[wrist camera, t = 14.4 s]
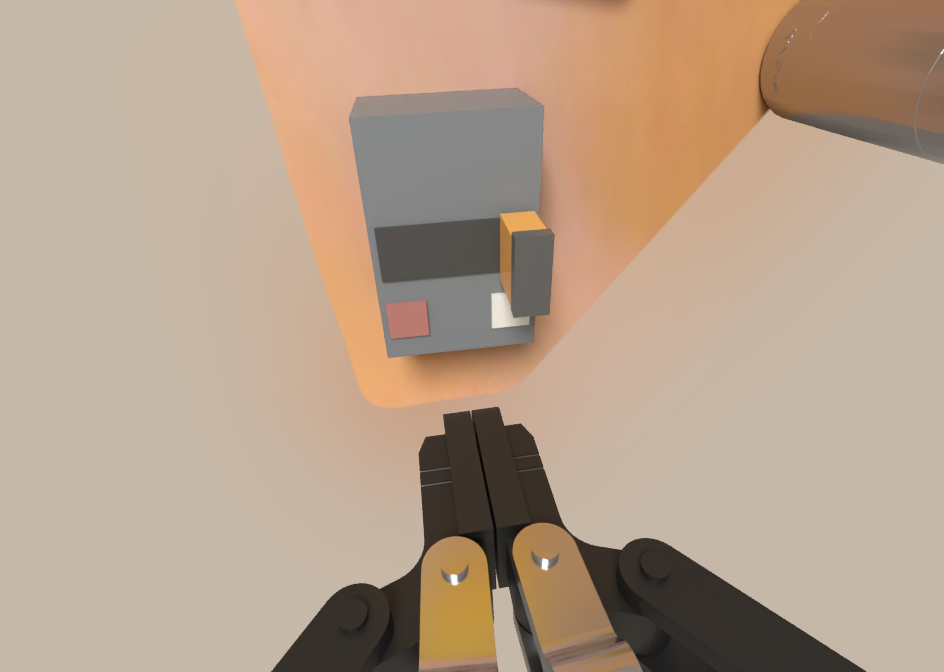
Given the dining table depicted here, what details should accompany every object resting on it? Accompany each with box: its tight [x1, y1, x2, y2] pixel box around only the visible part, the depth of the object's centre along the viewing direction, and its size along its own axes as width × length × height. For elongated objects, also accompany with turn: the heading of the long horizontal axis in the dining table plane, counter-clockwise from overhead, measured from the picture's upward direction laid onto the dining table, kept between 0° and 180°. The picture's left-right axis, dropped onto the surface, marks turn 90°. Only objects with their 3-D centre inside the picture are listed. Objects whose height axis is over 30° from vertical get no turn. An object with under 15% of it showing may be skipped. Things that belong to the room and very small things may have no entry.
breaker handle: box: [500, 211, 554, 318], centre depth 33 cm, size 2×6×5 cm, turn 2°
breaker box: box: [349, 88, 544, 358], centre depth 38 cm, size 12×18×8 cm, turn 2°
